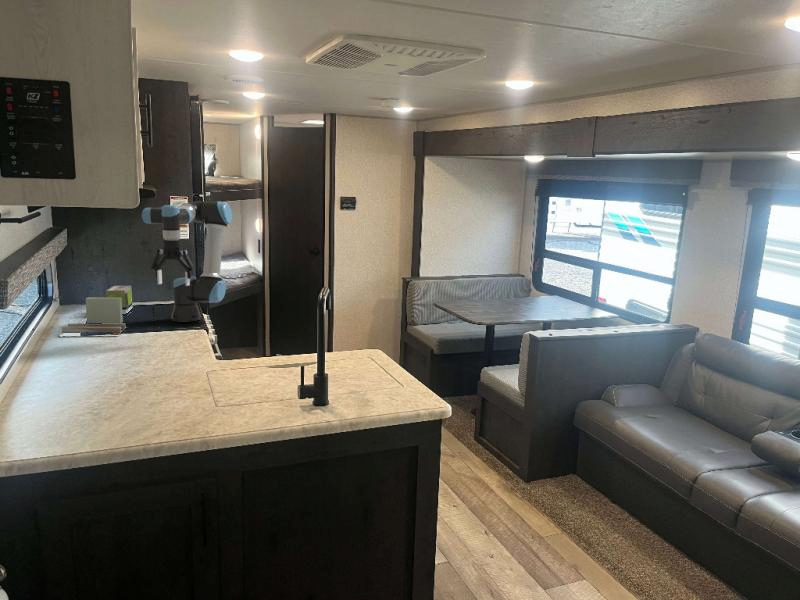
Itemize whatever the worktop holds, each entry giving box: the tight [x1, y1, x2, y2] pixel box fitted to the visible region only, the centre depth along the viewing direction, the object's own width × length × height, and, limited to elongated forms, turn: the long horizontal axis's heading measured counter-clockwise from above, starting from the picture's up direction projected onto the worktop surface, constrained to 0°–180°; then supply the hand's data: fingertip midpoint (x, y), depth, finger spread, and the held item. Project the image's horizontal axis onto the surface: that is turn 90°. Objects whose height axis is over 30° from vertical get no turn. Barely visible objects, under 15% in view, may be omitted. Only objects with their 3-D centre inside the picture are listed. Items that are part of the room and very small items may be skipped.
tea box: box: [105, 285, 134, 314], centre depth 337 cm, size 15×10×15 cm
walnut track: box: [61, 322, 127, 335], centre depth 294 cm, size 18×26×4 cm
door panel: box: [85, 296, 124, 324], centre depth 310 cm, size 4×16×14 cm, turn 100°
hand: (173, 284), depth 285 cm, fingers open, 13 cm apart
